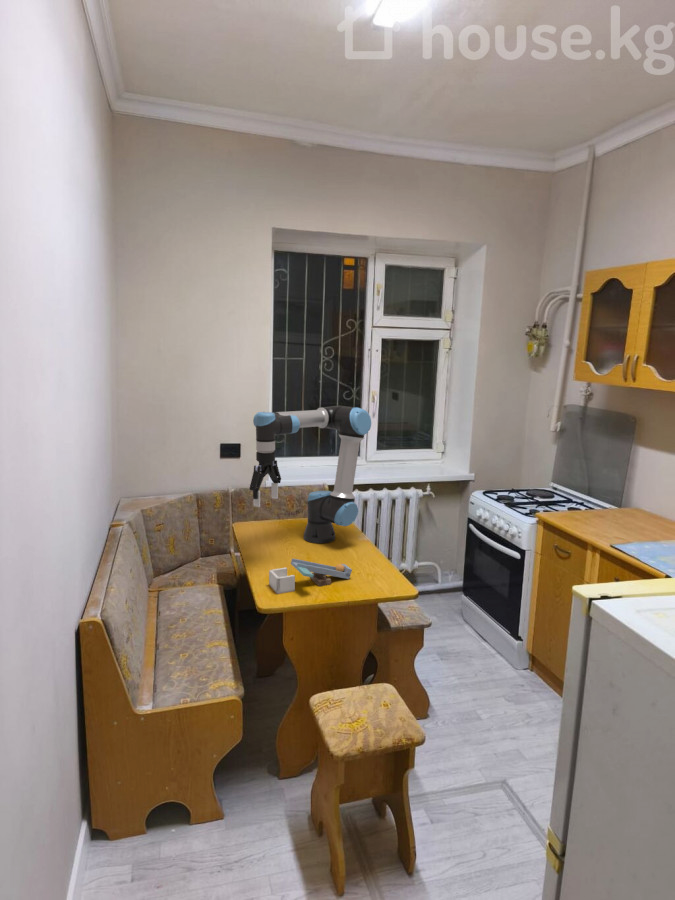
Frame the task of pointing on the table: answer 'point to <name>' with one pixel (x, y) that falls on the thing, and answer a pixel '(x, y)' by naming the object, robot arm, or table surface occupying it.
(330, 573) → the lever
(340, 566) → the ball
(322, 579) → the brown recessed block
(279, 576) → the bin
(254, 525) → the table surface
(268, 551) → the table surface
